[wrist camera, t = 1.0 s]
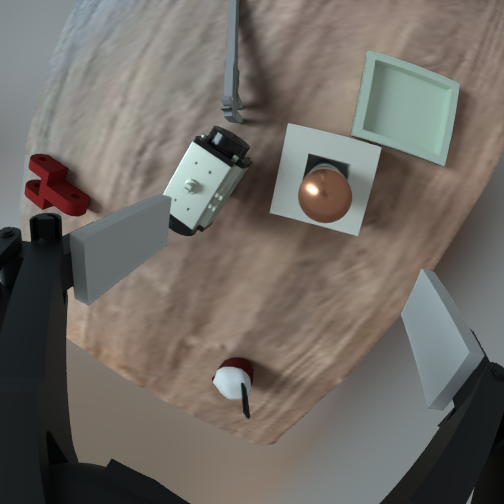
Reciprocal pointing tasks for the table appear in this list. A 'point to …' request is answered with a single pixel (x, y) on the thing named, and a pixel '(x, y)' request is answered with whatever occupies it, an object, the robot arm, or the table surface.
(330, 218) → the pin
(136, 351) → the table surface
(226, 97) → the caliper
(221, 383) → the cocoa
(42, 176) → the mechanical linkage
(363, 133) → the tray
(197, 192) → the pneumatic valve
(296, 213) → the block
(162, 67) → the table surface
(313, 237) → the table surface
